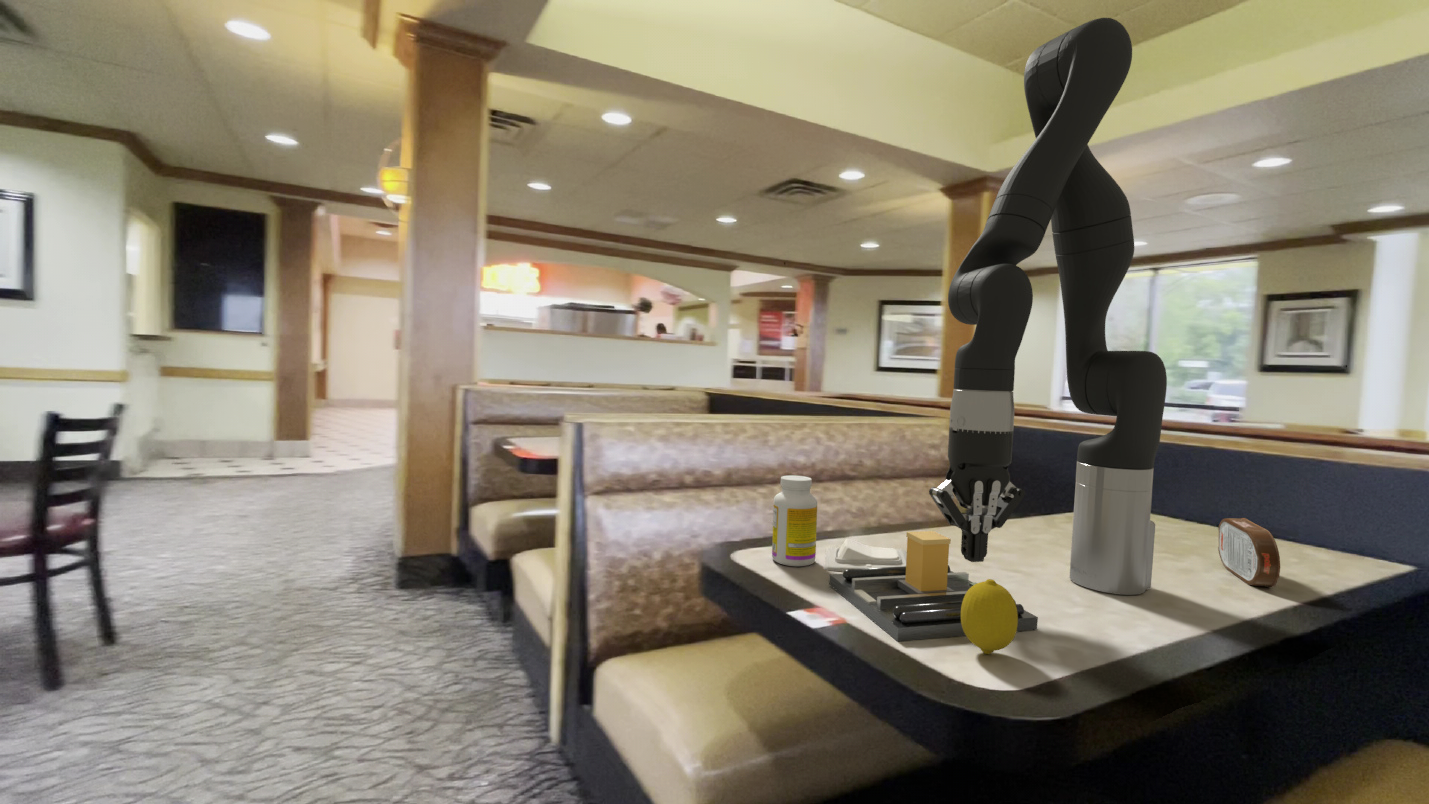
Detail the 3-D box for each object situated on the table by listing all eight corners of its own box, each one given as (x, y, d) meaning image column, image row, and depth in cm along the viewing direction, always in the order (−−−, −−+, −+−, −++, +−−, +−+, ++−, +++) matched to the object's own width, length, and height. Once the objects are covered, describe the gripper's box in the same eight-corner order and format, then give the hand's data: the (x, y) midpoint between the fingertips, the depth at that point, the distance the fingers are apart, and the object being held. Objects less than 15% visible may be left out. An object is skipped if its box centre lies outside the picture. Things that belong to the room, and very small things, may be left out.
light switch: (825, 532, 104) (906, 534, 102) (825, 557, 104) (906, 559, 102) (823, 551, 94) (913, 553, 91) (823, 579, 94) (914, 582, 91)
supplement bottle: (824, 562, 97) (827, 479, 97) (796, 570, 93) (799, 483, 92) (790, 552, 102) (793, 472, 101) (762, 559, 98) (765, 476, 97)
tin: (1280, 595, 89) (1285, 536, 88) (1252, 592, 90) (1257, 533, 89) (1235, 565, 103) (1239, 513, 102) (1212, 562, 104) (1216, 511, 103)
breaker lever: (932, 584, 83) (934, 529, 83) (954, 597, 79) (957, 539, 78) (897, 586, 82) (900, 531, 82) (918, 599, 78) (921, 541, 77)
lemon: (1026, 665, 65) (1031, 588, 64) (974, 666, 64) (978, 588, 64) (998, 642, 70) (1002, 571, 70) (949, 642, 70) (953, 570, 69)
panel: (945, 578, 91) (946, 558, 91) (1036, 629, 74) (1038, 605, 74) (829, 585, 87) (830, 564, 87) (897, 641, 70) (898, 615, 69)
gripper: (1005, 423, 86) (998, 550, 87) (918, 422, 83) (911, 553, 84) (1047, 429, 79) (1038, 567, 80) (953, 428, 76) (945, 572, 77)
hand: (973, 560), depth 82 cm, fingers closed
